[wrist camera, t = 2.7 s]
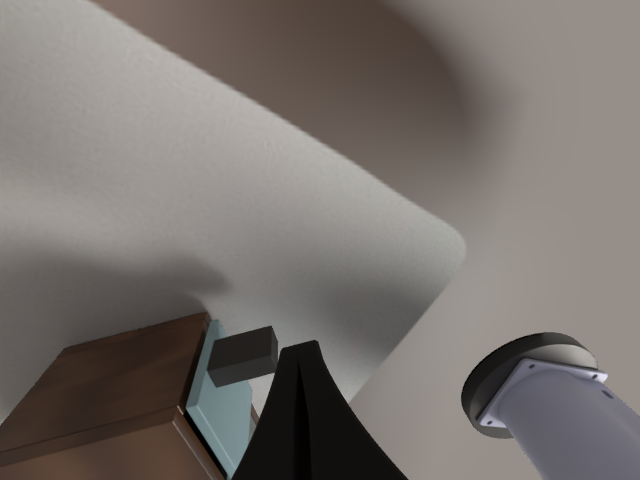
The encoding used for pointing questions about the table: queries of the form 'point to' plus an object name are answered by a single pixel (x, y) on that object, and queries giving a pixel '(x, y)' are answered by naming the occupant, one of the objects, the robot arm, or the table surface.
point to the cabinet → (115, 411)
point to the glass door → (229, 388)
